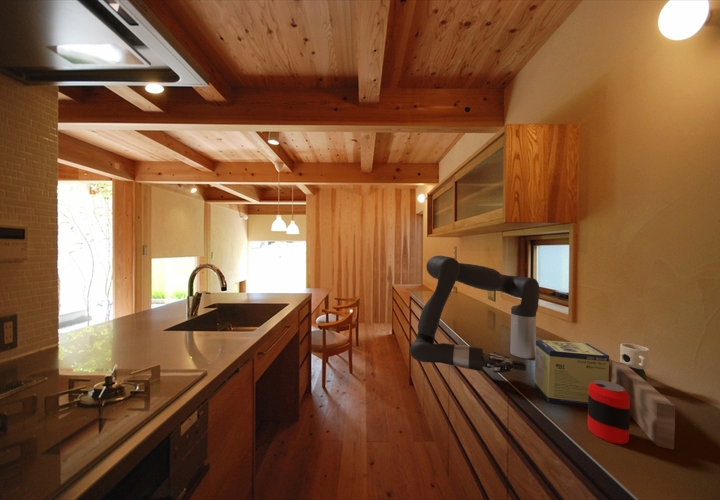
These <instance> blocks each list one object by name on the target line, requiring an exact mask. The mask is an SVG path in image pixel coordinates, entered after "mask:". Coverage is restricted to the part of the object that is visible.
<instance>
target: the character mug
mask: <svg viewBox="0 0 720 500" xmlns="http://www.w3.org/2000/svg"><path fill="white" fill-rule="evenodd" d="M619 346H620V347H619V353H620V357H619V363H625V364H626V365H627V366H628V367H629V368H631V369H632V370H633V371H634V372H635V373H636V374H638V375H639V376H640V377H641V378H642V379H644V380H645V381H646V382H647V375H646V371H645V370H649V369H650V366H651V365H650V364H651V349H650V348H648V347H646V346H642V345H639V344H636V343H635V344H634V343H625V342H624V343H620V345H619ZM647 383H648V382H647Z"/></svg>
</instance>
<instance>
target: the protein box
mask: <svg viewBox="0 0 720 500" xmlns="http://www.w3.org/2000/svg"><path fill="white" fill-rule="evenodd" d="M609 371H610V355H608V354H607V353H605V352H604V351H601V350H600V349H598V348H596V347H594V346H593V345H591V344H589V343H584V342H568V341H558V340H555V341H554V340H543V339H536V346H535V358H534V387H535V389H536V390H537V391H538V392H539V393H540V394H541V396H542V397H543V398H544V399H545V400H546V401H547V403H549V404H550V403H551V404H558V405H564V406H565V405H566V406H572V407H573V406H575V407H581V408H582V407H583V408H588V388H589V385H590V384H591V383H592V382H594V381H595V380H604V381H609V379H610V376H609V375H610V373H609ZM609 382H610V381H609Z"/></svg>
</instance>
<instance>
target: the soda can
mask: <svg viewBox="0 0 720 500" xmlns="http://www.w3.org/2000/svg"><path fill="white" fill-rule="evenodd" d="M630 417H631V416H630V396H629V394H628V393H627V392H626V391H625V389H624V388H623V387H622V386H620V385H618V384H615V383H613V382H611V381H604V380H595V381H594V382H592V383H591V384H590V385H589V388H588V407H587V428H588V430H589V431H590V432H591V433H592V434H593V435H594V436H596V437H597V438H599V439H601V440H603V441H605V442H609V443H612V444H614V445H615V444H616V445H624V444H627V443H628V442H629V441H630Z"/></svg>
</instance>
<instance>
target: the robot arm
mask: <svg viewBox="0 0 720 500" xmlns="http://www.w3.org/2000/svg"><path fill="white" fill-rule="evenodd" d="M426 272H427V273H428V274H429V276H431V278H433V279H436V280H437V283H436V287H435V290H434V292H433V293H432V295H431V297H430V298H429V299H428V301H427V302H426V303H425V304H424V307H423V308H422V310H421V313H420V317H419V320H418V324H417V334H416V337H415V340H414V342H412V344H411V345H410V346H409V353H410V356H411V357H412V358H413V359H414V360H415V361H417V362H423V363H433V364H434V363H435V364H437V363H440V364H444V365H450V366H455V367H458V368H461V369H466V370H467V369H468V370H472V371H478V372H482V371H483V369H484V368H486V369H490V370H493V373H496V374H499V373H500V374H501V373H509V372H511V371H512V370H518V371H522V372H523V371H524V372H526V371H527V364H526V363H525V362H523V361H517V360H512V359H511V358H510V357H509V356H507V355H504V354H501V353H499V352H496V351H494V352H492V353H484V348H482V347H478V346H472V345H471V346H470V345H466V344H465V345H464V344H452V343H445V342H444V343H443V342H441V343H435V338H436V334H437V330H438V327H439V324H440V321H441V317H442V313H443V311H444V308H445V305H446V303H447V301H448V300H449V297H450V295H451V292H452V290H453V289H454V286H455V284H456V283H457V282H459V283H461V284H464V285H466V286H469V287H472V288H475V289H479V290H483V291H487V292H501V293H504V294H507V295H509V296H512V297H514V298H519V299H520V304H518V305H513V306H511V308H510V309H511V310H510V347H509V348H510V352H509V353H510V354H511V355H513V356H515V357H516V358H520V359H521V358H522V359H528V360H529V359H535V349H536V340H537V337H536V335H537V330H536V329H537V311H538V309H539V303H540V302H539V301H540V284H539V282H538V280H537V279H536V278H534V277H528V276H527V277H526V276H518V275H508V274H502V273H500V272H499V271H498V270H497V269H494V268H493V267H492V268H491V267H489V266H488V267H487V266H484V265H478V264H471V263H462V262H459V261H458V260H457V258H454V257H450V256H445V255H435V256H432V257H430V258H429V260H428V261H427V262H426Z"/></svg>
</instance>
